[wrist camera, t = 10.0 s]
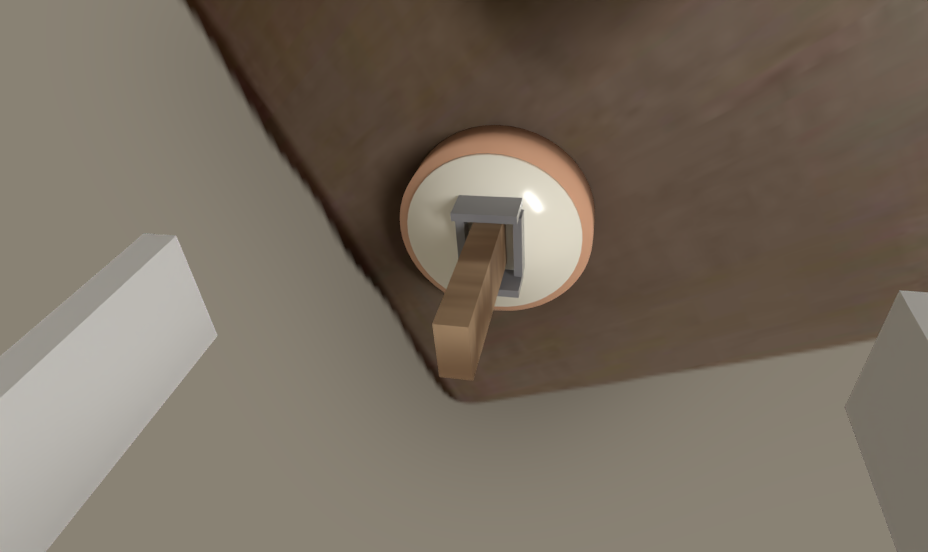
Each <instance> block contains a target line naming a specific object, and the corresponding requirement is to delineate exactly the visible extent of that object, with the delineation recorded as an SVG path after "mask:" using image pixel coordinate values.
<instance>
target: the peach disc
mask: <svg viewBox="0 0 928 552" xmlns="http://www.w3.org/2000/svg"><path fill="white" fill-rule="evenodd" d="M473 222H476V223H495V224H506V249H507V264H506V267H505V271H504V274H503V278H502V281H501V285H500V288H499V292H498V295H497V299H496V302H495V306H494V309H493V310H505V311H510V310H522V309H527V308H532V307H535V306H539V305H542V304H544V303H546V302H549V301H551V300H553V299H555V298H556V297H558V296H560V295H561V294H562V293H564V292H565V291H566V290H568V289H569V288H570V287H571V286H572V285H573V284H574V283H575V282H576V281H577V279H578V278H579V277H580V275H581V274H582V272H583V271H584V269H585V267H586V265H587V263H588V260H589V257H590V253H591V249H592V242H593V233H594V222H595V206H594V200H593V195H592V192H591V189H590V186H589V184H588V181H587V179H586V177H585V175H584V174H583V172H582V171H581V169H580V168H579V166H578V165H577V164H576V162H575V161H574V160H573V159H572V158H571V157H570V156H569V155H568V154H567V153H566V152H565V151H564V150H562V149H561V148H560V147H559V146H557V145H556V144H554V143H553V142H551V141H550V140H548V139H546V138H544V137H542V136H540V135H538V134H536V133H534V132H531V131H528V130H525V129H521V128H516V127H511V126H501V125H489V126H479V127H474V128H470V129H466V130H463V131H460V132H458V133H456V134H454V135H452V136H450V137H448V138H446V139H445V140H443V141H442V142H440V143H439V144H438V145H437V146H436V147H435V148H433V149H432V150H431V151H430V152H429V154H428V155H427V156H426V157H425V159H424V160H423V162H422V163H421V165H420V166H419V168H418V170H417V171H416V173H415V174H414V176H413V178H412V179H411V181H410V183H409V184H408V186H407V188H406V190H405V193H404V195H403V198H402V203H401V207H400V229H401V233H402V238H403V241H404V244H405V247H406V249H407V251H408V253H409V255H410V257H411V259H412V261H413V262H414V263H415V265H416V266H417V268H418V269H419V270H420V271H421V273H422V274H423V275H424V276H425V277H426V278H427V279H428V280H429V281H430V282H431V283H433V284H434V285H435V286H436V287H438V288H439V289H440V290H442V291H443V292H445V291H446V289H447V286H448V284H449V281H450V279H451V276H452V274H453V271H454V269H455V266H456V264H457V261H458V259H459V256H460V254H461V251H462V249H463V246H464V244H465V241H466V239H467V236H468V234H469V231H470V229H471V226H472V224H473Z"/></svg>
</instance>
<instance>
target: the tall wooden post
mask: <svg viewBox="0 0 928 552" xmlns="http://www.w3.org/2000/svg"><path fill="white" fill-rule="evenodd" d="M506 264H507V249H506V224H495V223H476V222H473V224H472V226H471V229H470V231H469V234H468V236H467V239H466V241H465V244H464V246H463V249H462V251H461V254H460V256H459V259H458V261H457V264H456V266H455V269H454V271H453V274H452V276H451V279H450V281H449V284H448V286H447V289H446V291H445V294H444V296H443V299H442V301H441V304H440V306H439V309H438V311H437V314H436V316H435V319H434V321H433V324H432V325H433V333H434V340H435V348H436V355H437V363H438V370H439V377H446V378H455V379H464V380H473V379H474V376H475V372H476V369H477V365H478V362H479V358H480V355H481V351H482V348H483V344H484V341H485V337H486V334H487V330H488V327H489V323H490V320H491V316H492V313H493V309H494V306H495V302H496V299H497V295H498V292H499V288H500V285H501V281H502V278H503V274H504V271H505V267H506Z"/></svg>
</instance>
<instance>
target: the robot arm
mask: <svg viewBox="0 0 928 552" xmlns="http://www.w3.org/2000/svg"><path fill="white" fill-rule="evenodd" d="M216 337H217V333H216V331H215V329H214V326H213V324H212V321H211V319H210V316H209V314H208V311H207V309H206V307H205V304H204V302H203V300H202V297H201V294H200V292H199V290H198V287H197V285H196V282H195V280H194V278H193V275H192V273H191V270H190V268H189V266H188V263H187V261H186V258H185V256H184V253H183V251H182V249H181V246H180V244H179V241H178V239H177V236H174V235H161V234H148V233H147V234H146V233H144V234H142V235H141V236H140V237H139V238H138V239H137V240H135V241H134V242H133V243H132V244H131V245H130V246H128V247H127V248H126V249H125V250H124V251H123V252H121V253H120V254H119V255H118V256H117V257H116V258H114V259H113V260H112V261H111V262H110V263H108V264H107V265H106V266H105V267H104V268H103V269H101V270H100V271H99V272H98V273H97V274H96V275H95V276H93V277H92V278H91V279H90V280H89V281H88V282H86V283H85V284H84V285H83V286H82V287H80V288H79V289H78V290H77V291H76V292H75V293H73V294H72V295H71V296H70V297H69V298H68V299H67V300H65V301H64V302H63V303H62V304H61V305H59V306H58V307H57V308H56V309H55V310H54V311H52V312H51V313H50V314H49V315H48V316H47V317H45V318H44V319H43V320H42V321H41V322H40V323H38V324H37V325H36V326H35V327H34V328H33V329H31V330H30V331H29V332H28V333H27V334H26V335H24V336H23V337H22V338H21V339H20V340H19V341H18V342H16V343H15V344H14V345H13V346H12V347H10V348H9V349H8V350H7V351H6V352H5V353H3V354H2V355H1V356H0V552H46V551H47V549H48V548H49V547H50V545H51V544H52V543H53V542H54V541H55V539H56V538H57V537H58V535H59V534H60V533H61V532H62V530H63V529H64V528H65V527H66V525H67V524H68V523H69V522H70V520H71V519H72V518H73V517H74V515H75V514H76V513H77V512H78V510H79V509H80V508H81V507H82V505H83V504H84V503H85V502H86V500H87V499H88V498H89V496H90V495H91V494H92V493H93V491H94V490H95V489H96V488H97V486H98V485H99V484H100V483H101V481H102V480H103V479H104V478H105V476H106V475H107V474H108V473H109V471H110V470H111V469H112V468H113V466H114V465H115V464H116V463H117V461H118V460H119V459H120V458H121V456H122V455H123V454H124V452H125V451H126V450H127V449H128V448H129V446H130V445H131V444H132V443H133V441H134V440H135V439H136V437H137V436H138V435H139V434H140V432H141V431H142V430H143V429H144V427H145V426H146V425H147V424H148V422H149V421H150V420H151V419H152V417H153V416H154V415H155V414H156V412H157V411H158V410H159V409H160V407H161V406H162V405H163V404H164V402H165V401H166V400H167V399H168V397H169V396H170V395H171V394H172V392H173V391H174V390H175V389H176V387H177V386H178V385H179V383H180V382H181V381H182V380H183V378H184V377H185V376H186V375H187V373H188V372H189V371H190V370H191V368H192V367H193V366H194V365H195V363H196V362H197V361H198V360H199V358H200V357H201V356H202V354H203V353H204V352H205V351H206V349H207V348H208V347H209V346H210V345H211V343H212V342H213V341H214V339H215V338H216ZM845 409H846V412H847V415H848V418H849V421H850V423H851V426H852V429H853V432H854V434H855V437H856V440H857V443H858V445H859V448H860V451H861V454H862V456H863V459H864V462H865V465H866V467H867V470H868V473H869V476H870V479H871V481H872V484H873V487H874V490H875V492H876V495H877V498H878V500H879V503H880V506H881V509H882V512H883V514H884V517H885V520H886V523H887V526H888V528H889V531H890V534H891V537H892V539H893V542H894V545H895V548H896V550H897V552H928V293H926V292H913V291H900V290H899V292H898V295H897V297H896V299H895V301H894V303H893V305H892V307H891V309H890V312H889V314H888V316H887V318H886V320H885V322H884V324H883V326H882V329H881V331H880V333H879V335H878V337H877V339H876V341H875V344H874V346H873V348H872V350H871V352H870V354H869V356H868V358H867V361H866V363H865V365H864V367H863V369H862V371H861V373H860V375H859V378H858V380H857V382H856V384H855V386H854V388H853V390H852V393H851V395H850V397H849V399H848V401H847V404H846V405H845Z"/></svg>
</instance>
